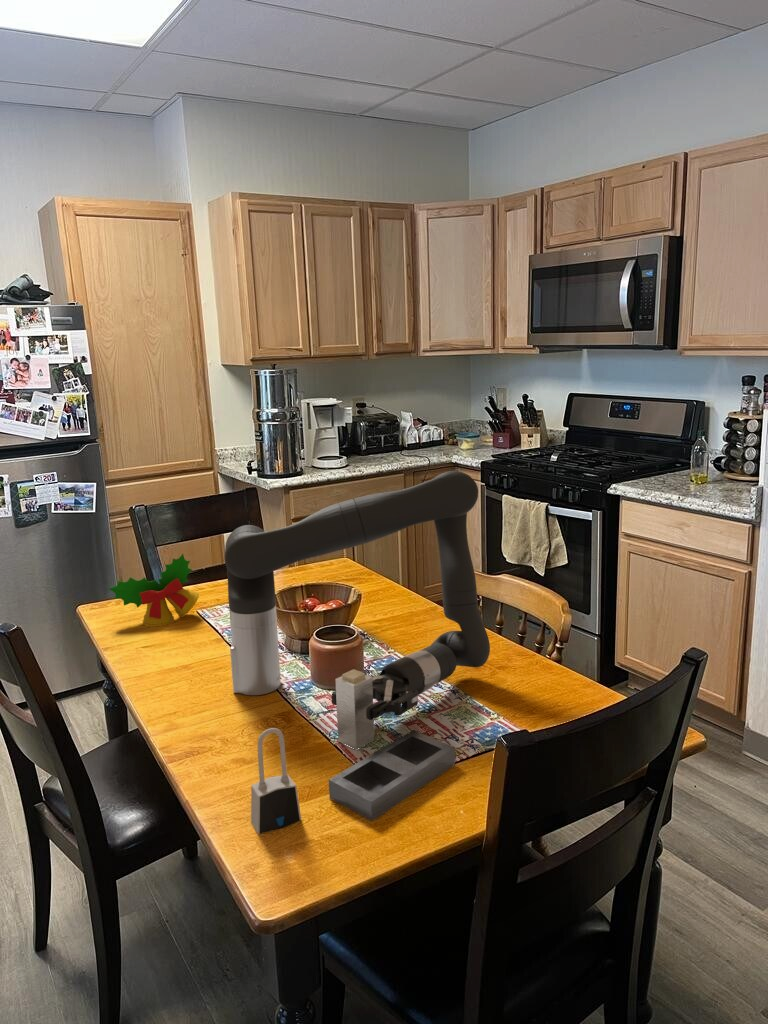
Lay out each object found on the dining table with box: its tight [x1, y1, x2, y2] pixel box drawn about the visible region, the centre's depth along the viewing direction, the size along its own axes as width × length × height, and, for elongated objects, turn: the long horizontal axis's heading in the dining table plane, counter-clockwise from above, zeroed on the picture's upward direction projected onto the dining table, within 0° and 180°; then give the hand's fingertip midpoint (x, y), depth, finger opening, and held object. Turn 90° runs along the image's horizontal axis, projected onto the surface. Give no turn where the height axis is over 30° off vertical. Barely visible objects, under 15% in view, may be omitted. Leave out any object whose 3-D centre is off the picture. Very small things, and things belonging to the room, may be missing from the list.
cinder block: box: [328, 729, 456, 822], centre depth 124 cm, size 20×9×3 cm, turn 137°
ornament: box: [108, 553, 200, 628], centre depth 196 cm, size 21×8×15 cm, turn 108°
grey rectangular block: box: [334, 668, 375, 750], centre depth 136 cm, size 4×4×13 cm
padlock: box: [250, 727, 302, 835], centre depth 114 cm, size 7×4×15 cm, turn 117°
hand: (350, 707), depth 135 cm, fingers open, 8 cm apart
